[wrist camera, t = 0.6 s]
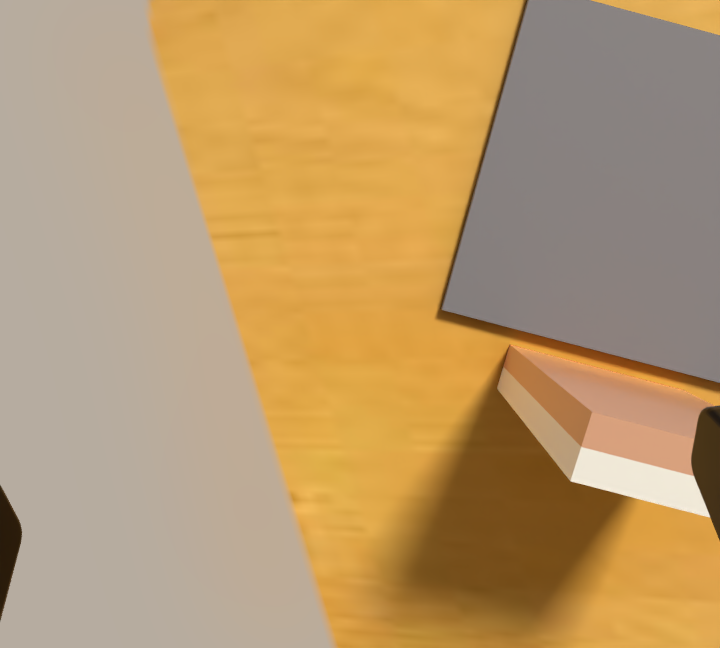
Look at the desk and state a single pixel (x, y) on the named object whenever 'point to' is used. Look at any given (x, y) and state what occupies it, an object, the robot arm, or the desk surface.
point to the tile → (608, 426)
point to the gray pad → (601, 190)
